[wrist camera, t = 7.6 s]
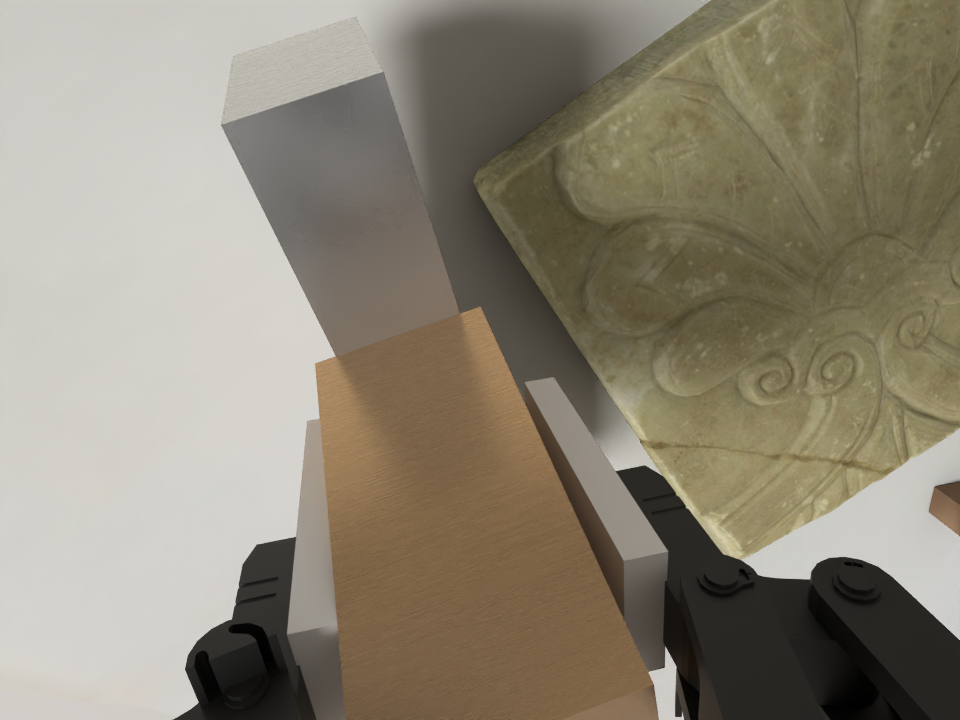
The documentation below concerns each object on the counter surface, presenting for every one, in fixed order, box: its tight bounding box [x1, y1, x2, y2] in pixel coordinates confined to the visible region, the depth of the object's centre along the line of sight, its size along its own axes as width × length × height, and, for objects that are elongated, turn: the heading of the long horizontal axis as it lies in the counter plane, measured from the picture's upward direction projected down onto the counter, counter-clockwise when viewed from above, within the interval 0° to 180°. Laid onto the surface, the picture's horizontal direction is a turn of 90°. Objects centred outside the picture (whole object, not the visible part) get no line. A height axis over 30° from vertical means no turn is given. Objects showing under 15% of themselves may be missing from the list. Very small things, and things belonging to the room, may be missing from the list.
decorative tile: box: [473, 0, 960, 560], centre depth 24 cm, size 19×20×4 cm
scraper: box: [221, 17, 659, 720], centre depth 15 cm, size 16×4×14 cm, turn 16°
